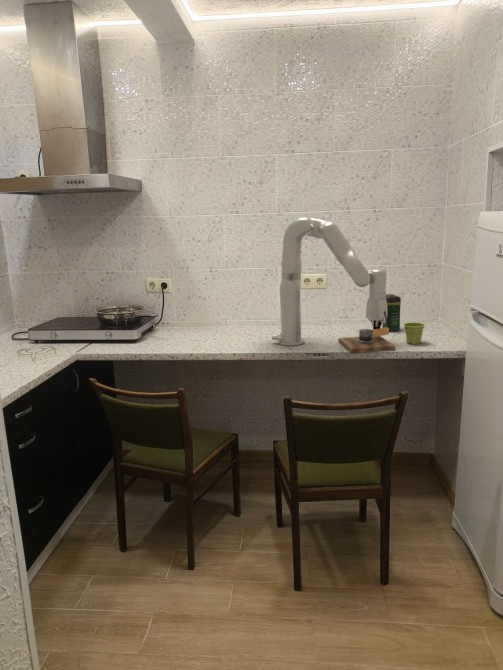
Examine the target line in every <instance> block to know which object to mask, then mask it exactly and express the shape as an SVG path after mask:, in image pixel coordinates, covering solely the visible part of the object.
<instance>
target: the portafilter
mask: <svg viewBox="0 0 503 670" xmlns="http://www.w3.org/2000/svg"><path fill="white" fill-rule="evenodd" d="M386 335H387V336H388V335H390V331H389V328H387V327H385V328H383V327H381V328H379V329H373V328H372V329H370V328H369V329H368V328H364V329H359V332H358V337H359V339H360V340H363V341H369V340H372V339H373V337H376V336H381V337H382V336H386Z"/></svg>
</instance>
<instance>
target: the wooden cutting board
mask: <svg viewBox="0 0 503 670" xmlns="http://www.w3.org/2000/svg"><path fill="white" fill-rule="evenodd" d="M338 343H339V344H340V345H341V346H342V347H344V349H346V350H347V351H348V352H349V353H350V354H360V353H362V354H363V353H373V352H375V353H376V352H387V351H396V345H395V344H393V343H392V342H391V341H389V340H387V339H386V338H384V337H382V336H376V337H373V339H372V340H369V341H363V340H360V339H359V336H352V337H351V336H350V337H338Z"/></svg>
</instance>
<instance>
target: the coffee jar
mask: <svg viewBox="0 0 503 670" xmlns="http://www.w3.org/2000/svg"><path fill="white" fill-rule="evenodd" d="M386 301H387V319H386V323H384V324H382V328H385V327H387V328H389V332H393V333H394V332H398V331H400V330H401V304H402V301H401V297H400V296H398V295H395V294H394V293H390V294H389V293H386Z"/></svg>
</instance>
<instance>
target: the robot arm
mask: <svg viewBox="0 0 503 670" xmlns="http://www.w3.org/2000/svg"><path fill="white" fill-rule="evenodd" d="M306 236H307V237H311V238H315V239H316V238H318V239H322V240H323V242H324V243H325V245H327V247H328V249H329V250H330V251H331V253H332V254H333V256H334V257H335V259H336V260H337V261H338V262H339V264H340V265H341V266H342V267H343V269H344V270H345V271H346V273H347V274H348V275H349V277H350V278H351V280H352V281H353V283H354V284H355V286H357V287H359V288H366V287H367V286H368V285H369V286H368V287H369V288H368V291H369V292H368V298H367V301H366V310H365V318H366V319H368V321H370V322H371V326H372V330H373V329H379V328H382V327H383V324H384V323H386V319H387V301H386V294H387V271H386V269H384V268H372V269H367V268H366V267H365V266H364V265H363V263H362V261H361V260H360V258H359V257H358V255H357V254H356V252H355V250H354V248H353V247H352V245H351V244H350V243H349V241H348V240H347V238H346V237H345V235H344V234H343V233H342V231H341V229H340V228H339V227H338V225H337V224H336V223H335V222H334V221H328V220H322V219H317V218H312V217H308V216H301V217H299V218H297V219H295V220H294V221H292V222H291V223H290V224H289V225H288V226H287V228H286V230H285V231H284V235H283V242H282V255H281V264H280V265H281V283H280V286H279V299H280V300H279V301H280V303H279V304H280V305H279V306H280V325H281V327H280V329H281V332H280V333H279V334H278V335H272V336H271V341H272V340H275V341H278V344H279V345H282V346H289V347H291V346H299V345H300V346H301V345H303V344H305V339H304V338H302V312H301V307H302V306H301V285H302V283H301V282H302V265H303V264H302V263H303V262H302V258H301V253H302V240H304V237H306Z"/></svg>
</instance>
